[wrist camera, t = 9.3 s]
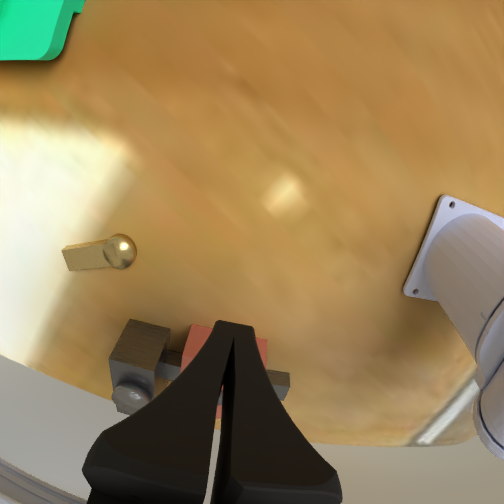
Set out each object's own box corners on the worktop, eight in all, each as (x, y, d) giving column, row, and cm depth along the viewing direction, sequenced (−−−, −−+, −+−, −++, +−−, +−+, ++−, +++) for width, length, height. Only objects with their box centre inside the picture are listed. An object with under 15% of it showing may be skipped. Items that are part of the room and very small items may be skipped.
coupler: (297, 353, 26) (301, 409, 20) (276, 402, 29) (276, 453, 24) (129, 319, 25) (103, 368, 20) (132, 373, 28) (113, 419, 23)
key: (131, 231, 22) (127, 236, 21) (140, 262, 23) (136, 267, 22) (65, 242, 22) (60, 246, 22) (75, 269, 23) (70, 274, 23)
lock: (266, 339, 25) (265, 380, 21) (248, 392, 28) (245, 430, 24) (192, 323, 25) (179, 363, 21) (184, 379, 28) (174, 416, 24)
